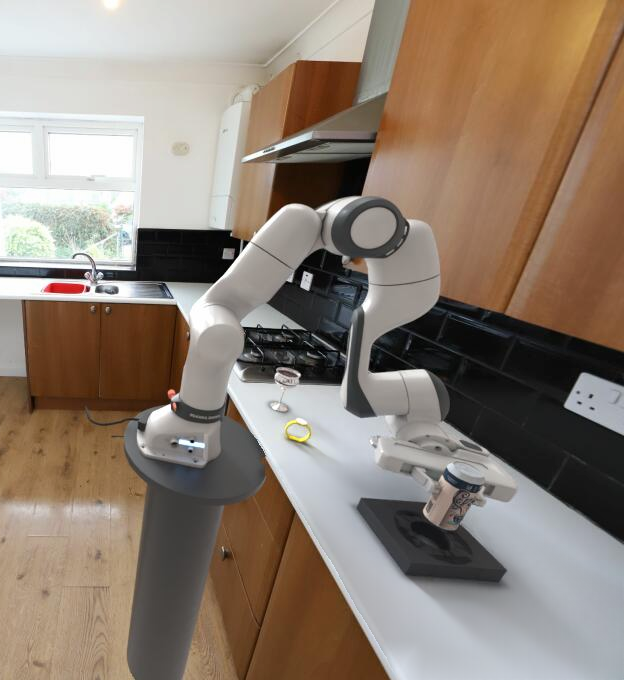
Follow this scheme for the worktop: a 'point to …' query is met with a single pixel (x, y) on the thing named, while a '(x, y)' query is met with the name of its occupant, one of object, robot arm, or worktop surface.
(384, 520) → the base
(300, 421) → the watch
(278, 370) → the wineglass
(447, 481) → the beer can
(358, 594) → the worktop surface
